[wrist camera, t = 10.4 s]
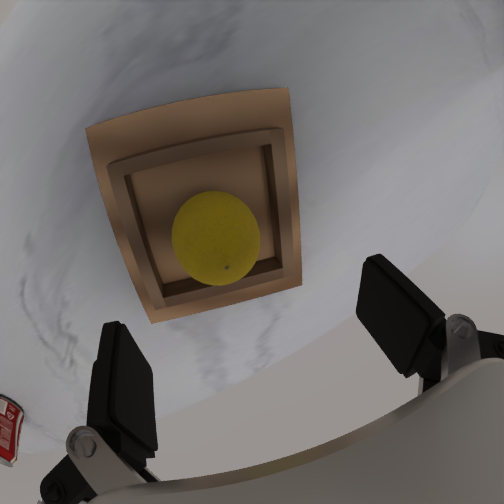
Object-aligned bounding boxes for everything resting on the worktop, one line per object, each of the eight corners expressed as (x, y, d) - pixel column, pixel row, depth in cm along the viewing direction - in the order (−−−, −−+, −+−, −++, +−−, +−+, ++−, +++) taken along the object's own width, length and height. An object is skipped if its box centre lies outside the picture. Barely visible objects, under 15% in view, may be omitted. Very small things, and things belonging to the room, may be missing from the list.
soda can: (-11, 388, 24) (-26, 444, 14) (19, 400, 27) (8, 460, 17) (-1, 407, 27) (-11, 458, 16) (28, 418, 29) (20, 472, 19)
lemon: (216, 258, 23) (236, 322, 16) (158, 225, 20) (152, 284, 13) (256, 204, 22) (297, 251, 15) (199, 164, 19) (214, 194, 12)
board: (91, 127, 17) (76, 130, 14) (280, 88, 19) (299, 85, 16) (151, 313, 26) (151, 338, 23) (296, 276, 28) (310, 296, 25)
